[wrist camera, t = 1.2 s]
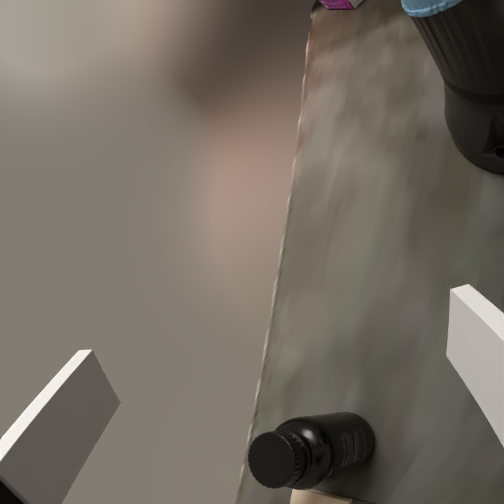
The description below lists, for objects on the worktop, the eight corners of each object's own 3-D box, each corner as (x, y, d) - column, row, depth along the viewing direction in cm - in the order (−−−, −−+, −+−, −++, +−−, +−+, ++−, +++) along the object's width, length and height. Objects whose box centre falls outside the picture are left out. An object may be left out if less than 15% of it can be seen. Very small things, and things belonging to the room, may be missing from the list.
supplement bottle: (335, 401, 31) (259, 402, 23) (387, 428, 25) (325, 448, 18) (308, 452, 30) (227, 467, 22) (355, 482, 25) (282, 516, 17)
